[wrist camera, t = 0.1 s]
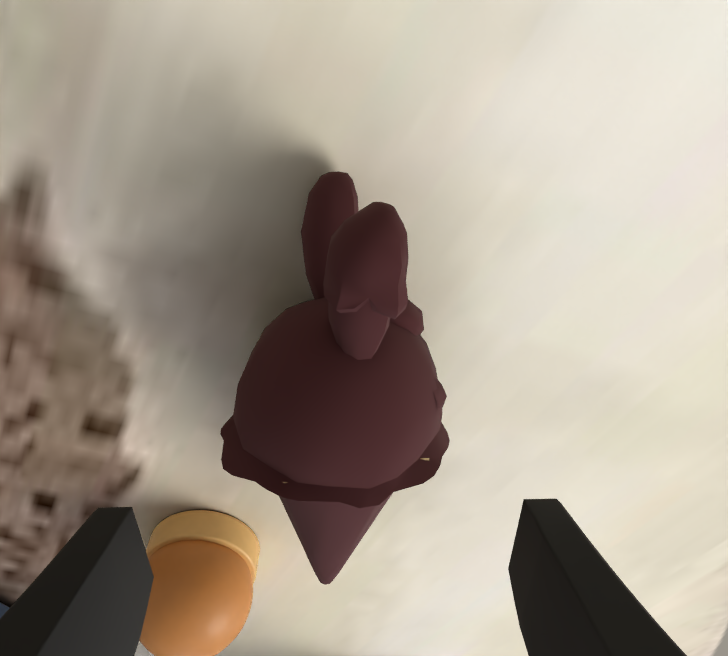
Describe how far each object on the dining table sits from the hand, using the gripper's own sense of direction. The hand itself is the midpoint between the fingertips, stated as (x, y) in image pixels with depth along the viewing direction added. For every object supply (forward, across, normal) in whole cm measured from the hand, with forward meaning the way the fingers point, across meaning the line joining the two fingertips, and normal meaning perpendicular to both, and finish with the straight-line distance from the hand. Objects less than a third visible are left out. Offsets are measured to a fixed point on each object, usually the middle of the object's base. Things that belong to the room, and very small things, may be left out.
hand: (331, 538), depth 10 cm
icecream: (+10, 0, +3) cm, 11 cm away
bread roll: (+10, +6, +13) cm, 18 cm away
